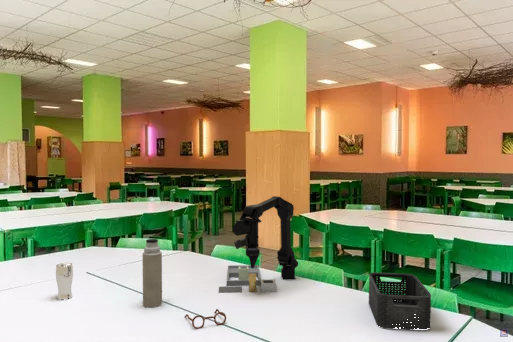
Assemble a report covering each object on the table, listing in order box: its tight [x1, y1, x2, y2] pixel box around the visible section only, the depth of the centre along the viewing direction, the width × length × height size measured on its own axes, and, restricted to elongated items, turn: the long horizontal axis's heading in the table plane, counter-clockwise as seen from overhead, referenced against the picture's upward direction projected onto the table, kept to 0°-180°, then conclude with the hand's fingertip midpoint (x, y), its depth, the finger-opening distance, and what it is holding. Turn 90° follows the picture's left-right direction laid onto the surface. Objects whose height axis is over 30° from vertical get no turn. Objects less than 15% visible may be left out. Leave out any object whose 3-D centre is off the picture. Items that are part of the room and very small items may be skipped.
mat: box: [217, 286, 243, 294], centre depth 198 cm, size 11×8×1 cm
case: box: [225, 264, 262, 287], centre depth 219 cm, size 17×30×2 cm, turn 3°
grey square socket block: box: [259, 278, 277, 293], centre depth 198 cm, size 7×7×4 cm
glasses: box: [184, 308, 227, 330], centre depth 161 cm, size 13×13×5 cm
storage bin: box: [368, 272, 432, 329], centre depth 166 cm, size 29×19×13 cm
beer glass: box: [55, 262, 74, 300], centre depth 186 cm, size 7×7×15 cm
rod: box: [248, 273, 257, 293], centre depth 195 cm, size 4×4×8 cm
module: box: [238, 266, 249, 280], centre depth 211 cm, size 5×5×8 cm
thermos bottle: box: [142, 238, 163, 309], centre depth 178 cm, size 8×8×28 cm
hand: (252, 265), depth 195 cm, fingers open, 9 cm apart
